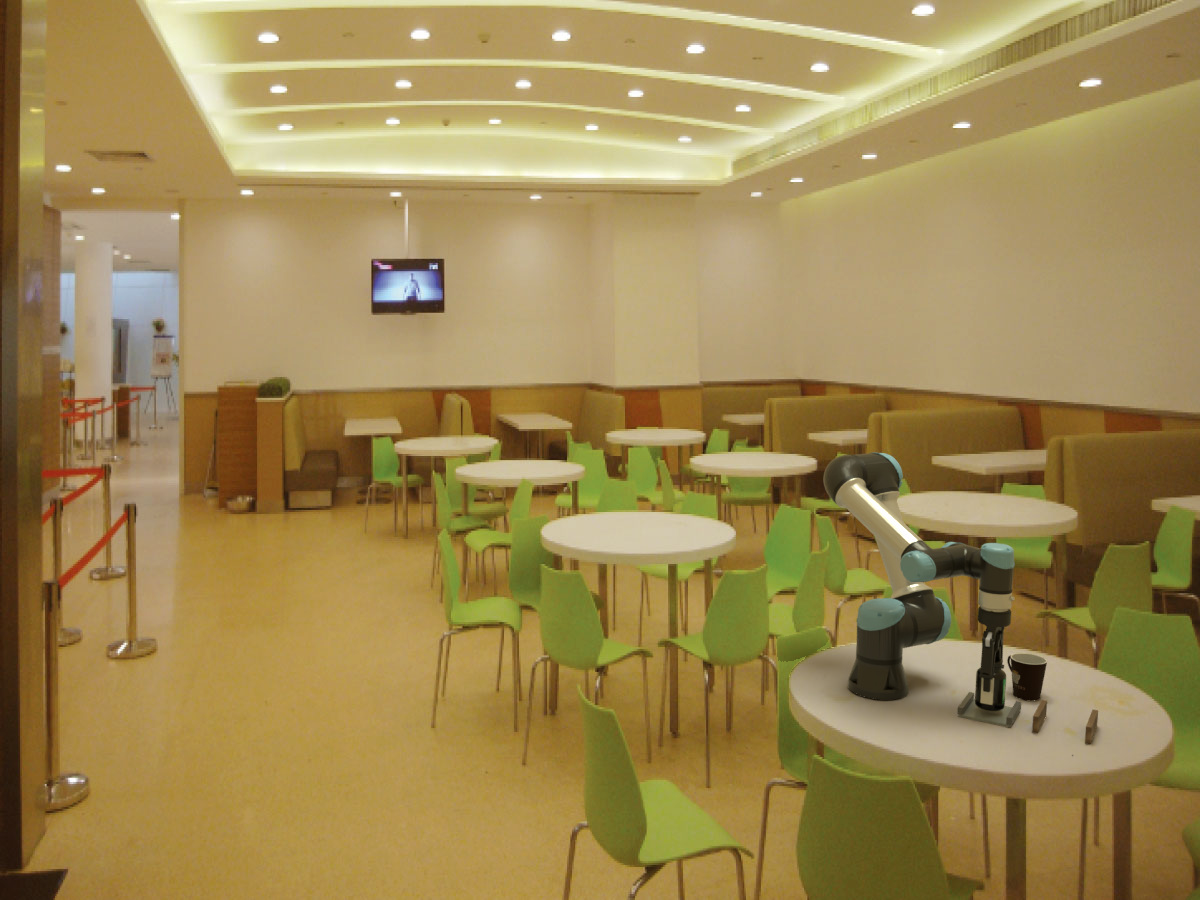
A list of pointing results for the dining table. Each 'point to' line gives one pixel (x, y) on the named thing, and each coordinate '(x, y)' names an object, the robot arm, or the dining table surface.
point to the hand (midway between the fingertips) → (989, 698)
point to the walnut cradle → (1041, 714)
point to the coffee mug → (1027, 675)
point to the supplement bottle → (998, 688)
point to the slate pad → (988, 712)
